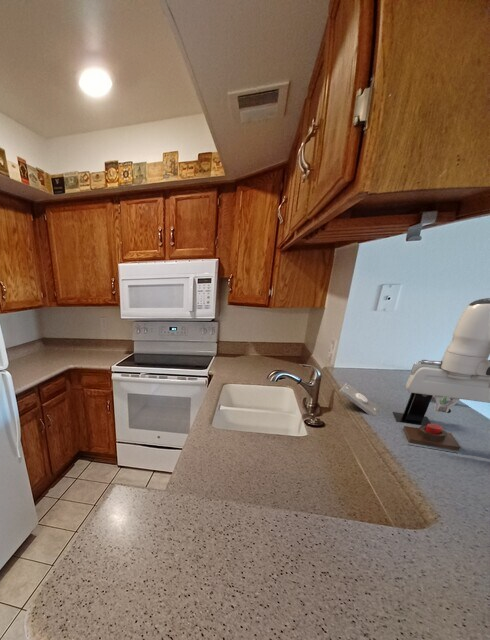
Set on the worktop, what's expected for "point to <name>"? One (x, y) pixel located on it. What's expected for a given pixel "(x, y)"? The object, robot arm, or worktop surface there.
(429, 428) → the button
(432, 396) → the switch lever
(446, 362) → the robot arm
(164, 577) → the worktop surface
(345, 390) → the light switch
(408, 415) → the bracket
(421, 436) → the button box
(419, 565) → the worktop surface
